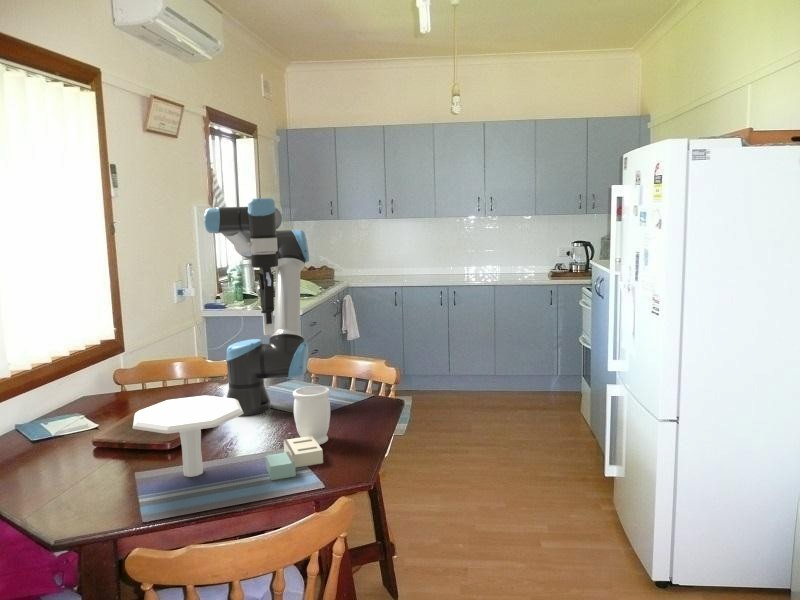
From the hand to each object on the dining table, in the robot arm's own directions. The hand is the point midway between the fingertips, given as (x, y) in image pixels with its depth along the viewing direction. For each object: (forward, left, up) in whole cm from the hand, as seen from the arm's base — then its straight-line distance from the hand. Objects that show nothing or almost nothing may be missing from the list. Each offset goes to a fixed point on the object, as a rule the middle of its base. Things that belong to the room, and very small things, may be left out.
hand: (269, 334), depth 185 cm
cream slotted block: (+21, +4, -30) cm, 37 cm away
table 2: (+19, -24, -31) cm, 43 cm away
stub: (+29, -3, -30) cm, 42 cm away
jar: (+10, +9, -31) cm, 33 cm away
